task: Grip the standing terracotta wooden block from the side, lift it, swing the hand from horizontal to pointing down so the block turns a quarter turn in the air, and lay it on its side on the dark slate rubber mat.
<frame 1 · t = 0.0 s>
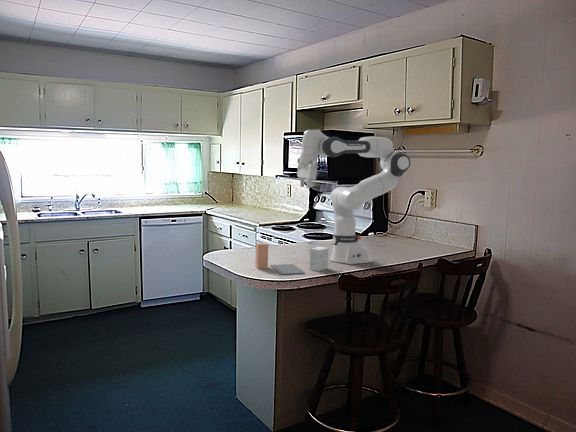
hand: (305, 187, 249), 39 cm above the countertop, tool pointing down, fingers open, 8 cm apart
terracotta block: (261, 267, 239), on the countertop
mat: (287, 269, 236), on the countertop
small box: (318, 269, 240), on the countertop
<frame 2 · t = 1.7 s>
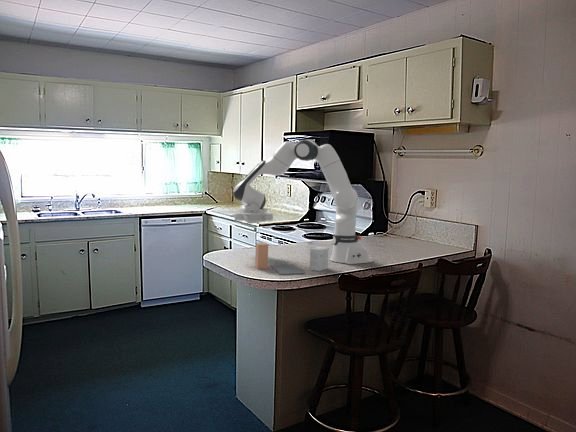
hand: (256, 218, 248), 23 cm above the countertop, tool horizontal, fingers open, 8 cm apart
nothing on the countertop moved.
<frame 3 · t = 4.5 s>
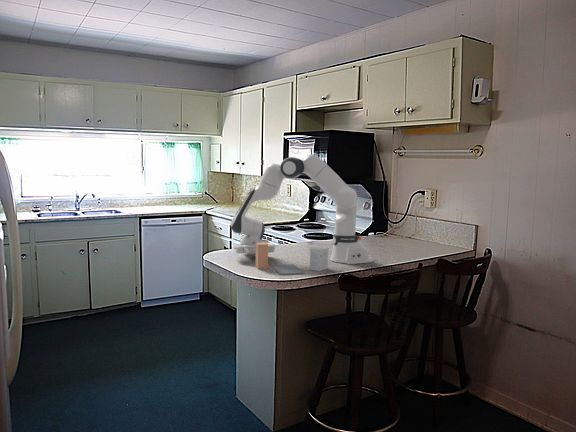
hand: (258, 251, 246), 6 cm above the countertop, tool horizontal, fingers open, 8 cm apart
nothing on the countertop moved.
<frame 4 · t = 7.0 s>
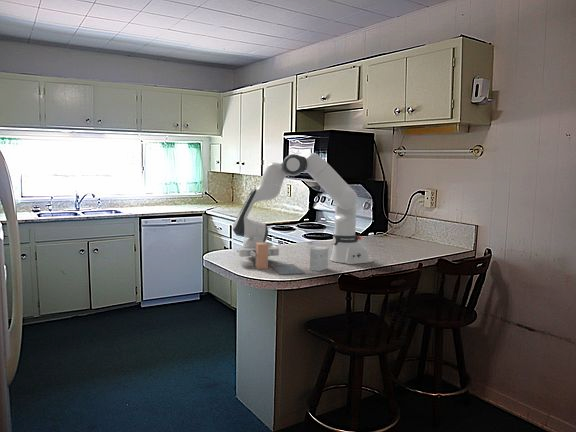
hand: (262, 254, 238), 7 cm above the countertop, tool horizontal, fingers closed on terracotta block, 5 cm apart
terracotta block: (261, 267, 239), on the countertop, touching gripper
everything else where it was.
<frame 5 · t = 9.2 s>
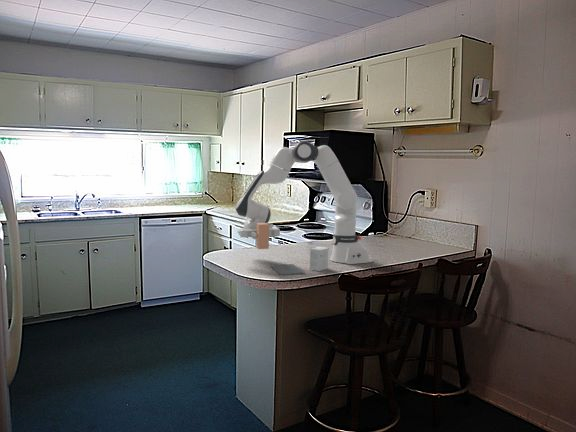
hand: (263, 235, 236), 16 cm above the countertop, tool horizontal, fingers closed on terracotta block, 5 cm apart
terracotta block: (262, 247, 238), point 10 cm above the countertop, touching gripper
everything else where it was.
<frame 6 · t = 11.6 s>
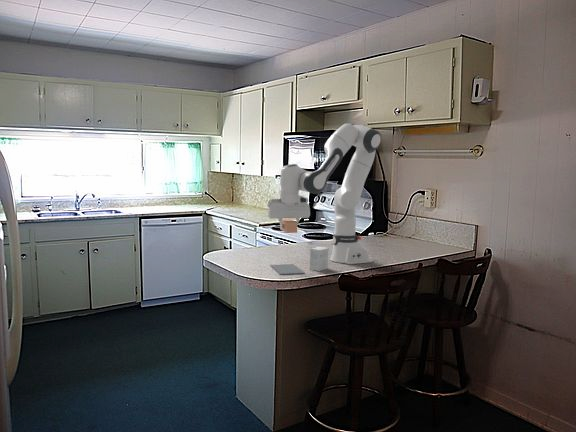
hand: (288, 227, 233), 21 cm above the countertop, tool pointing down, fingers closed on terracotta block, 5 cm apart
terracotta block: (285, 223, 239), point 22 cm above the countertop, tilted 90°, touching gripper
everything else where it was.
when the fingers open (4 cm above the countertop, at t = 16.0 s): terracotta block drops 1 cm, resting on mat.
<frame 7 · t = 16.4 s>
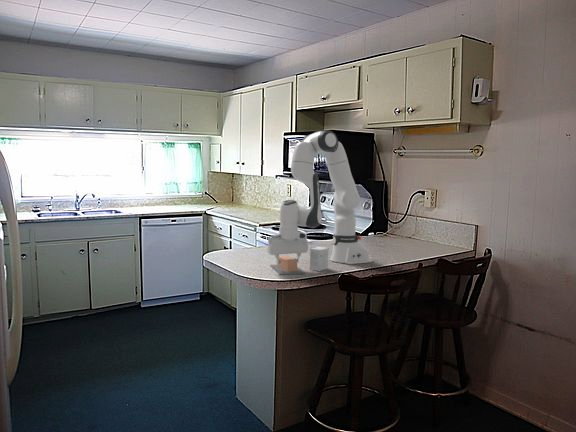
hand: (287, 262, 235), 4 cm above the countertop, tool pointing down, fingers open, 8 cm apart
terracotta block: (281, 260, 241), point 3 cm above the countertop, tilted 90°, touching mat
everything else where it was.
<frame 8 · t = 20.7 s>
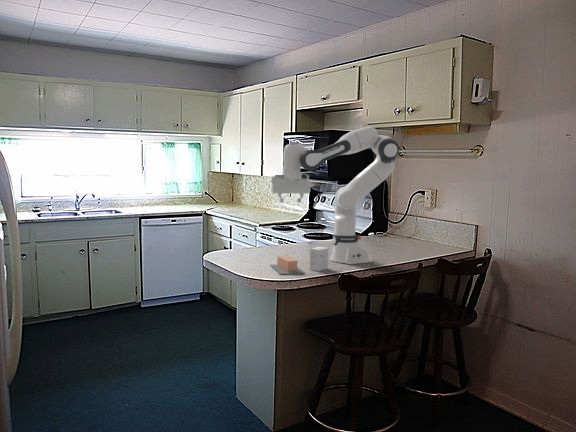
hand: (290, 202, 250), 31 cm above the countertop, tool pointing down, fingers open, 8 cm apart
nothing on the countertop moved.
at the end: terracotta block tilted 90°; terracotta block touching mat; the gripper is holding nothing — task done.
